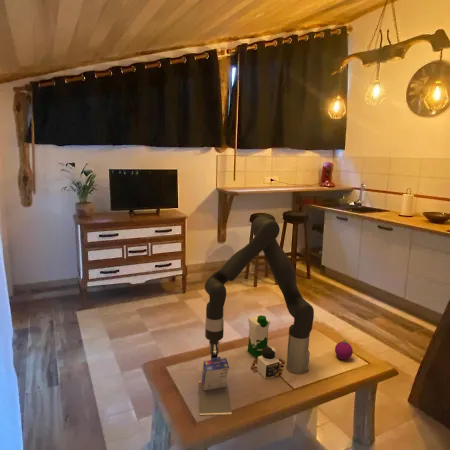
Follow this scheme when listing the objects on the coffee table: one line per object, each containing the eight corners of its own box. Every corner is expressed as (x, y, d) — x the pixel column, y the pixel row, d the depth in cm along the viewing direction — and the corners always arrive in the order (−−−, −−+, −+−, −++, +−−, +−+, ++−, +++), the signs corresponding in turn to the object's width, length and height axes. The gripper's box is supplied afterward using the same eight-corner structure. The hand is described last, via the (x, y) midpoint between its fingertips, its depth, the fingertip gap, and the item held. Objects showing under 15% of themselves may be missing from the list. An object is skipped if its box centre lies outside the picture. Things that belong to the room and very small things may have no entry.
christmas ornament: (339, 351, 184) (341, 333, 182) (354, 358, 179) (356, 339, 177) (331, 357, 179) (332, 339, 176) (346, 365, 173) (348, 345, 171)
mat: (226, 381, 159) (226, 380, 159) (231, 414, 139) (231, 413, 139) (198, 382, 158) (198, 381, 158) (199, 415, 138) (199, 414, 138)
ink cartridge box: (223, 375, 159) (227, 353, 151) (226, 387, 154) (231, 364, 147) (200, 379, 156) (203, 356, 148) (203, 391, 151) (206, 368, 144)
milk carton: (255, 360, 175) (257, 321, 170) (244, 351, 182) (246, 313, 178) (270, 355, 179) (272, 317, 175) (258, 346, 187) (260, 309, 182)
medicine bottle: (265, 379, 161) (267, 354, 158) (256, 370, 167) (258, 346, 164) (278, 375, 164) (280, 350, 161) (269, 366, 170) (271, 343, 167)
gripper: (224, 334, 145) (223, 373, 149) (222, 318, 158) (221, 355, 162) (205, 334, 144) (205, 374, 148) (204, 318, 157) (204, 355, 161)
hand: (213, 364), depth 155 cm, fingers closed
